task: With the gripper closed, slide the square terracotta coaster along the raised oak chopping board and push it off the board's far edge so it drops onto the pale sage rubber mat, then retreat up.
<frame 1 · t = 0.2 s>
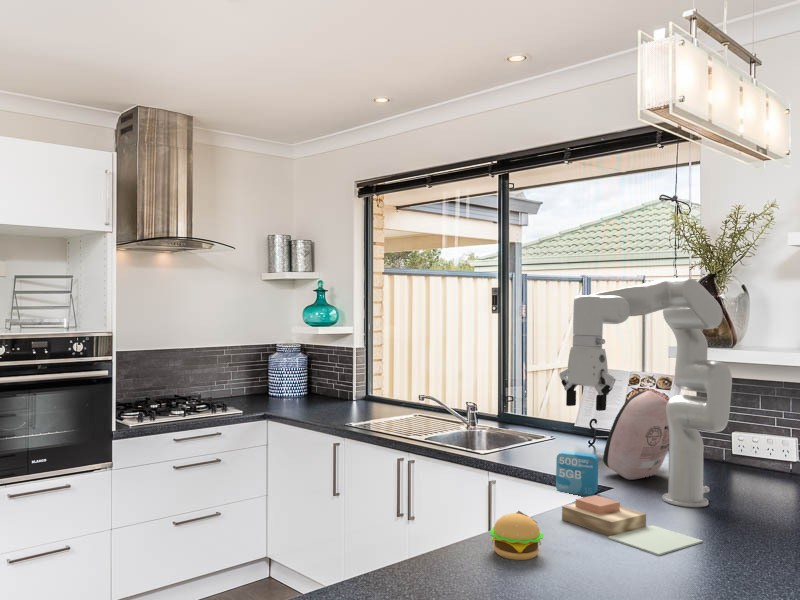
hand: (585, 407, 179), 30 cm above the worktop, fingers open, 9 cm apart
hamburger: (516, 554, 156), on the worktop
sage mat: (655, 540, 168), on the worktop
shard: (516, 524, 180), on the worktop
data package: (576, 493, 212), on the worktop
oak board: (603, 523, 181), on the worktop
pink rounded piece: (638, 478, 233), on the worktop
terracotta coaster: (597, 508, 182), point 3 cm above the worktop, touching oak board
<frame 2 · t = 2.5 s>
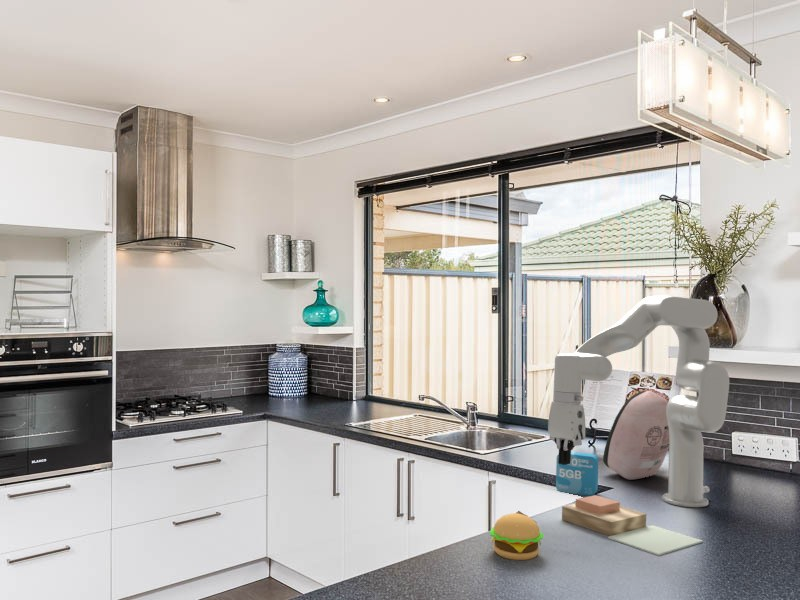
hand: (564, 463, 191), 13 cm above the worktop, fingers closed
nothing on the worktop moved.
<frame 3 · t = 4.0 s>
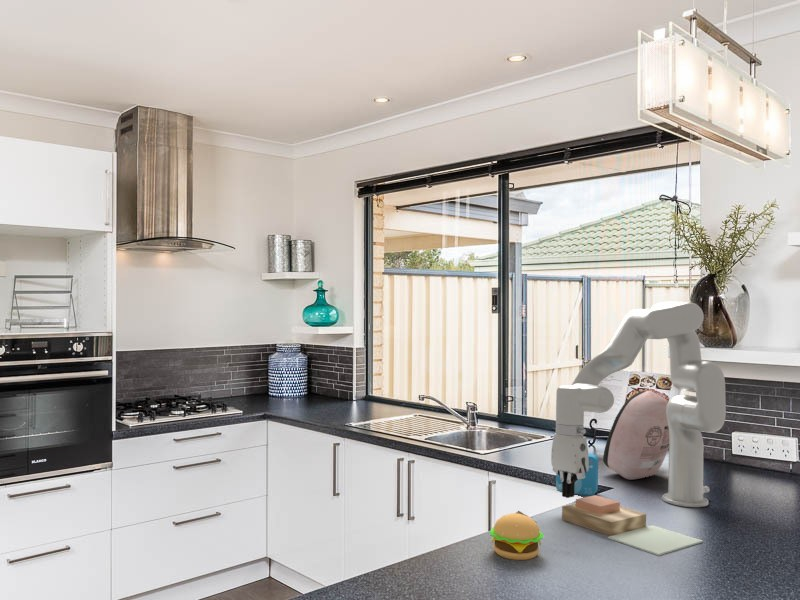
hand: (568, 496, 190), 4 cm above the worktop, fingers closed
nothing on the worktop moved.
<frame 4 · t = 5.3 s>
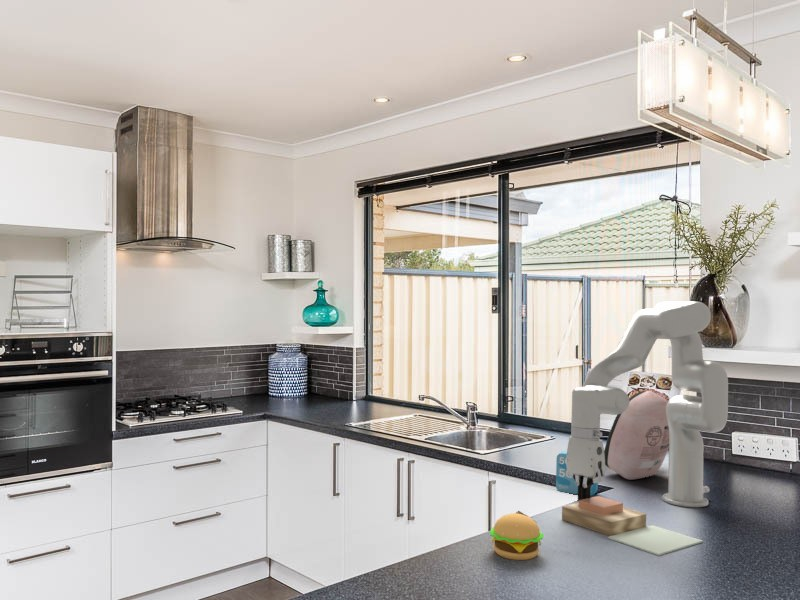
hand: (583, 500, 186), 4 cm above the worktop, fingers closed
terracotta coaster: (600, 509, 181), point 4 cm above the worktop, touching gripper
everything else where it was.
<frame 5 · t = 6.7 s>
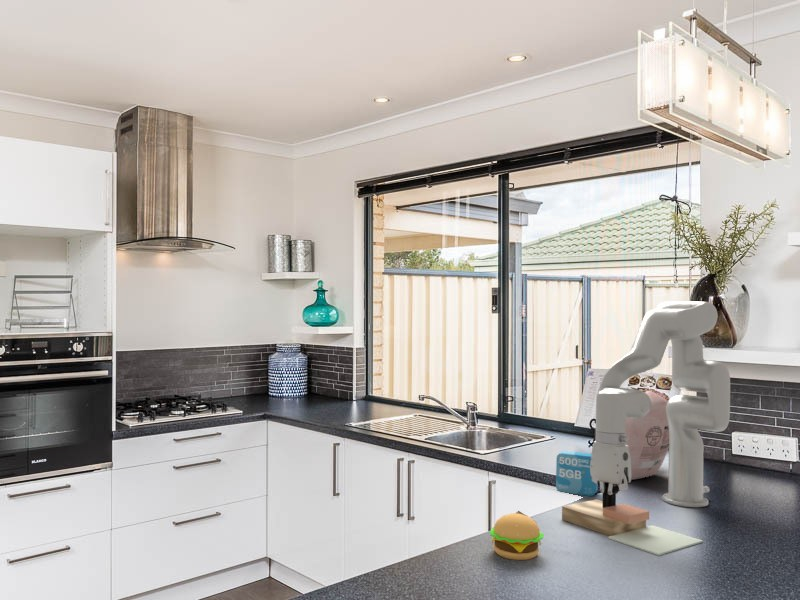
hand: (608, 508, 179), 4 cm above the worktop, fingers closed
terracotta coaster: (625, 517, 174), point 3 cm above the worktop, touching gripper, oak board
everything else where it was.
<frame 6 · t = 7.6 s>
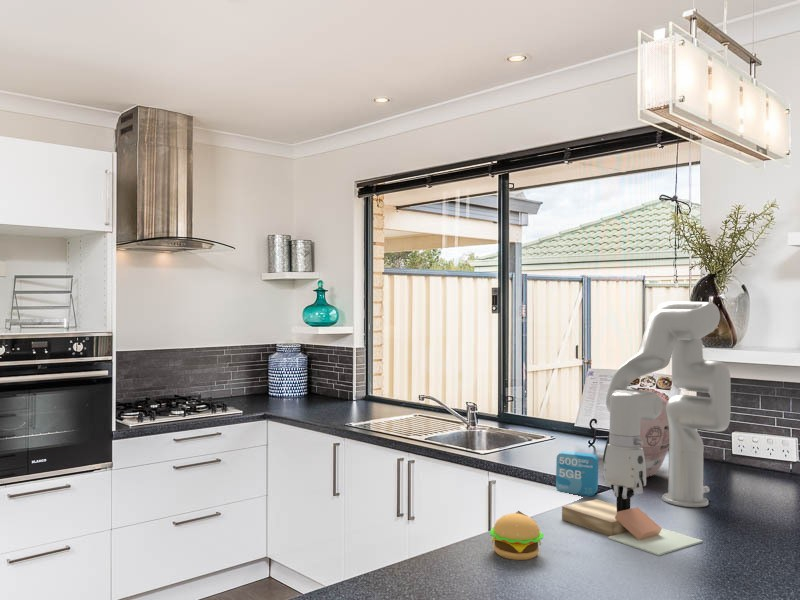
hand: (623, 512, 176), 4 cm above the worktop, fingers closed
terracotta coaster: (636, 526, 171), point 2 cm above the worktop, tilted 27°, touching gripper, oak board, sage mat
everything else where it was.
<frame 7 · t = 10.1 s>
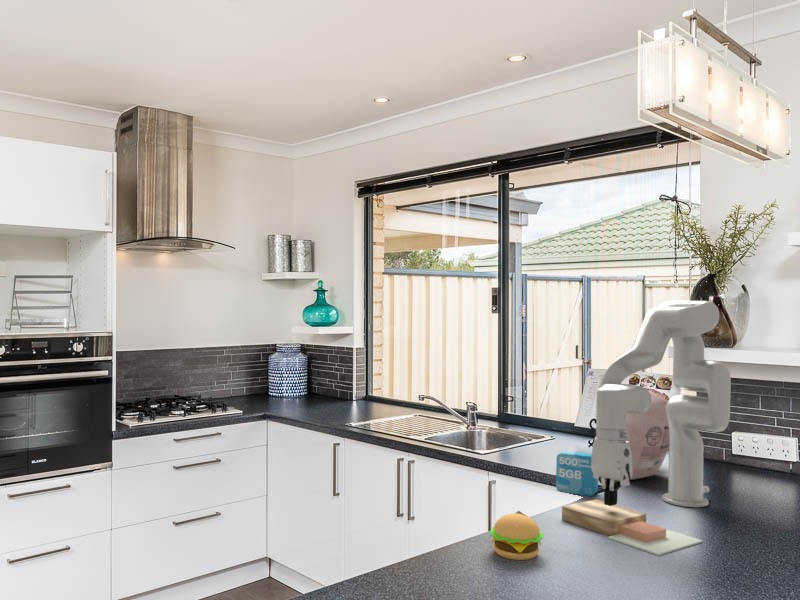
hand: (610, 504, 180), 5 cm above the worktop, fingers closed
terracotta coaster: (642, 535, 170), resting on sage mat
everything else where it was.
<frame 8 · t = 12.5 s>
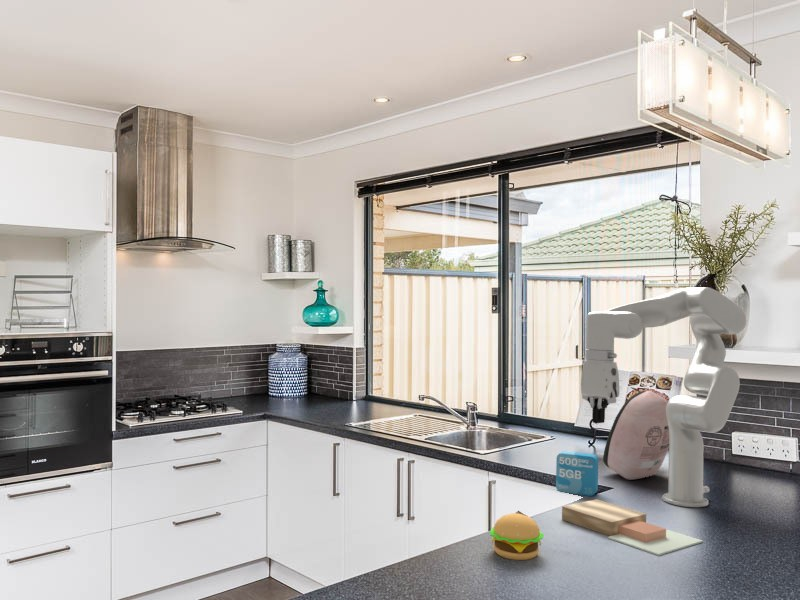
hand: (598, 422, 190), 25 cm above the worktop, fingers closed
nothing on the worktop moved.
at the end: terracotta coaster inside the target area (3.9 cm from its centre), resting on sage mat; terracotta coaster resting on sage mat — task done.
